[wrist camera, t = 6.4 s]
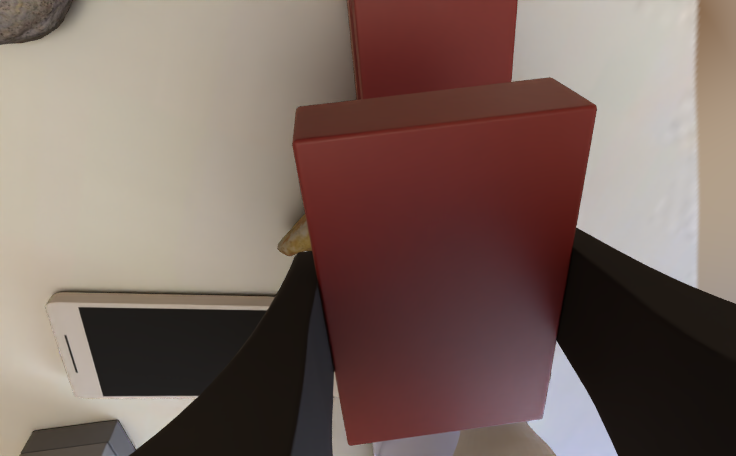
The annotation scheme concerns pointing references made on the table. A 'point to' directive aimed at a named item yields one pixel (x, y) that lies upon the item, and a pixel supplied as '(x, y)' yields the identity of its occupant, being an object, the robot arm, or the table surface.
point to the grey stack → (80, 441)
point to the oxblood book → (443, 249)
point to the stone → (30, 19)
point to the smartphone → (150, 341)
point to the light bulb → (502, 441)
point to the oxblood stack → (430, 44)
